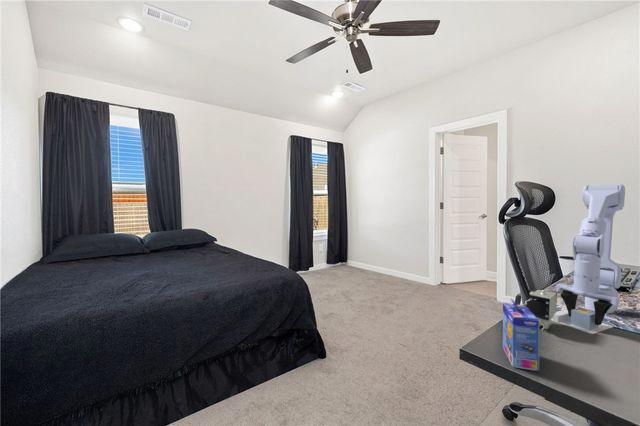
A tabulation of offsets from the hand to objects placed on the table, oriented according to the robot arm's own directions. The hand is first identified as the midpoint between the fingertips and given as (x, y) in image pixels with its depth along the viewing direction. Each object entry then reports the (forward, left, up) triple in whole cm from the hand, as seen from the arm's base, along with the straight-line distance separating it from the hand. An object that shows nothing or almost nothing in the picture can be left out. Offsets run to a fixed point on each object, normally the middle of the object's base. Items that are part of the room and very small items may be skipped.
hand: (584, 320), depth 88 cm
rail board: (-2, -2, -3) cm, 3 cm away
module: (0, 0, -2) cm, 2 cm away
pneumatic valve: (+12, -5, -3) cm, 13 cm away
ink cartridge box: (+35, +3, -3) cm, 35 cm away
